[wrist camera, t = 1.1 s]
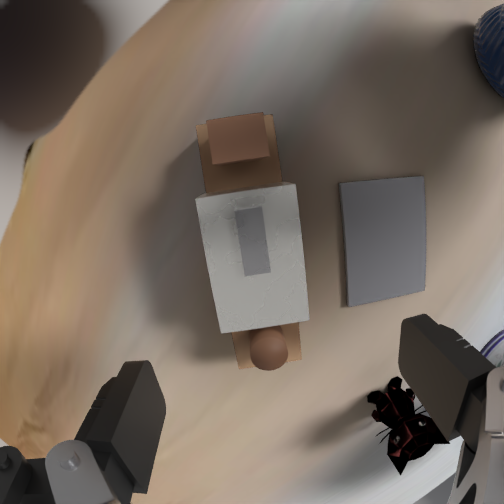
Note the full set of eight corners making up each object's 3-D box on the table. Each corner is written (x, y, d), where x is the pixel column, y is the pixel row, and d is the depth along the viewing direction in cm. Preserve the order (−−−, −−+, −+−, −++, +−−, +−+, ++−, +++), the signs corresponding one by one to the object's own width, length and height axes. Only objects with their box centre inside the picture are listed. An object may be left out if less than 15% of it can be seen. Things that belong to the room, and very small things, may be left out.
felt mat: (338, 183, 27) (340, 183, 27) (420, 175, 27) (423, 176, 27) (346, 304, 31) (348, 307, 30) (422, 288, 31) (424, 290, 30)
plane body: (203, 133, 26) (181, 110, 15) (266, 123, 26) (284, 95, 15) (238, 340, 31) (239, 415, 20) (292, 332, 31) (315, 404, 20)
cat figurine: (402, 362, 33) (450, 426, 21) (416, 392, 35) (458, 451, 23) (352, 394, 34) (386, 467, 22) (372, 421, 35) (403, 486, 24)
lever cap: (202, 193, 22) (193, 200, 18) (285, 181, 22) (297, 184, 18) (223, 308, 25) (220, 337, 20) (299, 297, 25) (311, 324, 20)
